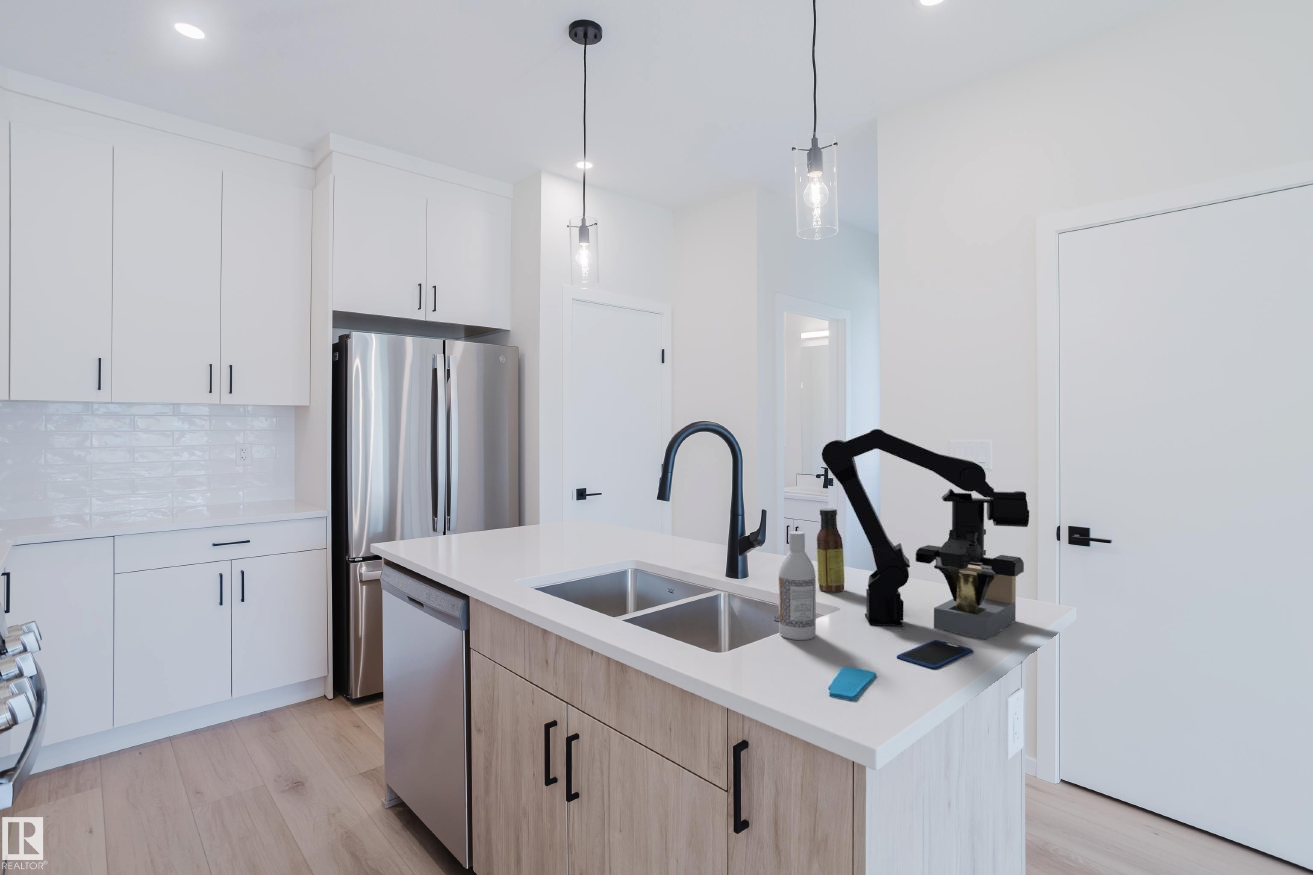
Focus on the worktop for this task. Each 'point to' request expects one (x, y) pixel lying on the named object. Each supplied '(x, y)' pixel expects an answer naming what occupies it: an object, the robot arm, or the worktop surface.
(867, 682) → the sponge
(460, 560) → the worktop surface
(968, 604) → the peg
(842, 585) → the sauce bottle
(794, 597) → the bath foam
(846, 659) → the worktop surface
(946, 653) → the cell phone
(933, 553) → the robot arm
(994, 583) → the socket block
